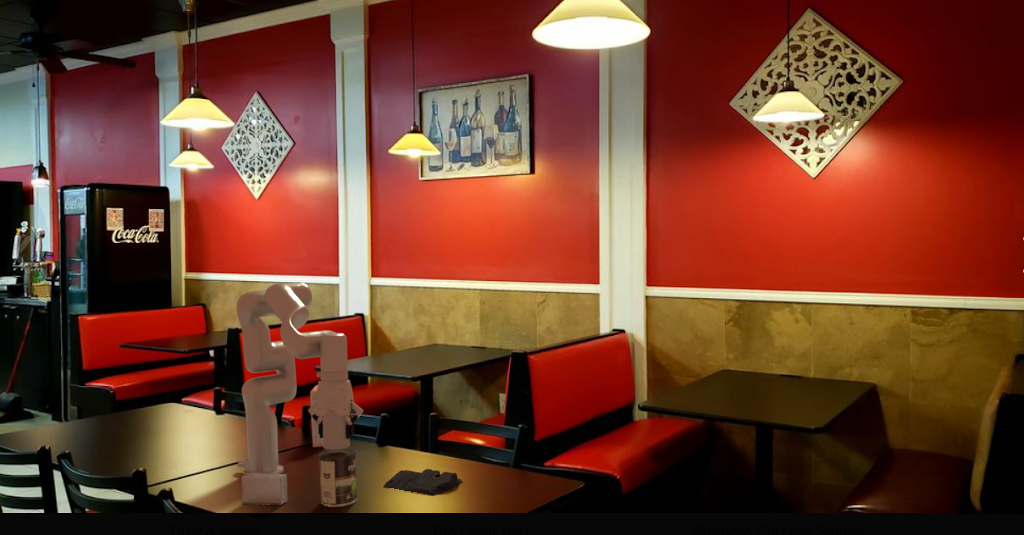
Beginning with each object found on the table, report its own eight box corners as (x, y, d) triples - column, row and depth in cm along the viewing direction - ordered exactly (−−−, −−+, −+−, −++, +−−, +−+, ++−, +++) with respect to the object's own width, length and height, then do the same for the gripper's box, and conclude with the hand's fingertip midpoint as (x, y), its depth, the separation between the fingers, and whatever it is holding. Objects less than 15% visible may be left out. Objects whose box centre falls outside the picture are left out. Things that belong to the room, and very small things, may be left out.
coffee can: (360, 495, 234) (358, 447, 234) (352, 507, 224) (351, 457, 224) (325, 496, 235) (323, 448, 234) (316, 507, 224) (314, 458, 224)
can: (343, 452, 225) (342, 410, 224) (318, 452, 226) (317, 410, 226) (354, 445, 232) (352, 405, 232) (330, 445, 233) (328, 404, 233)
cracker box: (317, 438, 306) (315, 384, 305) (333, 438, 306) (331, 383, 306) (311, 447, 292) (309, 391, 291) (328, 447, 292) (326, 390, 292)
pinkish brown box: (242, 504, 229) (241, 476, 229) (249, 499, 233) (248, 472, 233) (280, 506, 227) (279, 478, 226) (287, 501, 230) (286, 474, 230)
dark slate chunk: (409, 475, 255) (408, 460, 255) (467, 484, 245) (466, 468, 244) (378, 489, 242) (378, 473, 242) (439, 498, 231) (438, 482, 231)
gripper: (300, 378, 226) (302, 439, 227) (357, 379, 223) (359, 441, 223) (312, 373, 234) (314, 433, 234) (368, 374, 230) (369, 435, 231)
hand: (336, 437), depth 229 cm, fingers closed on can, 7 cm apart
